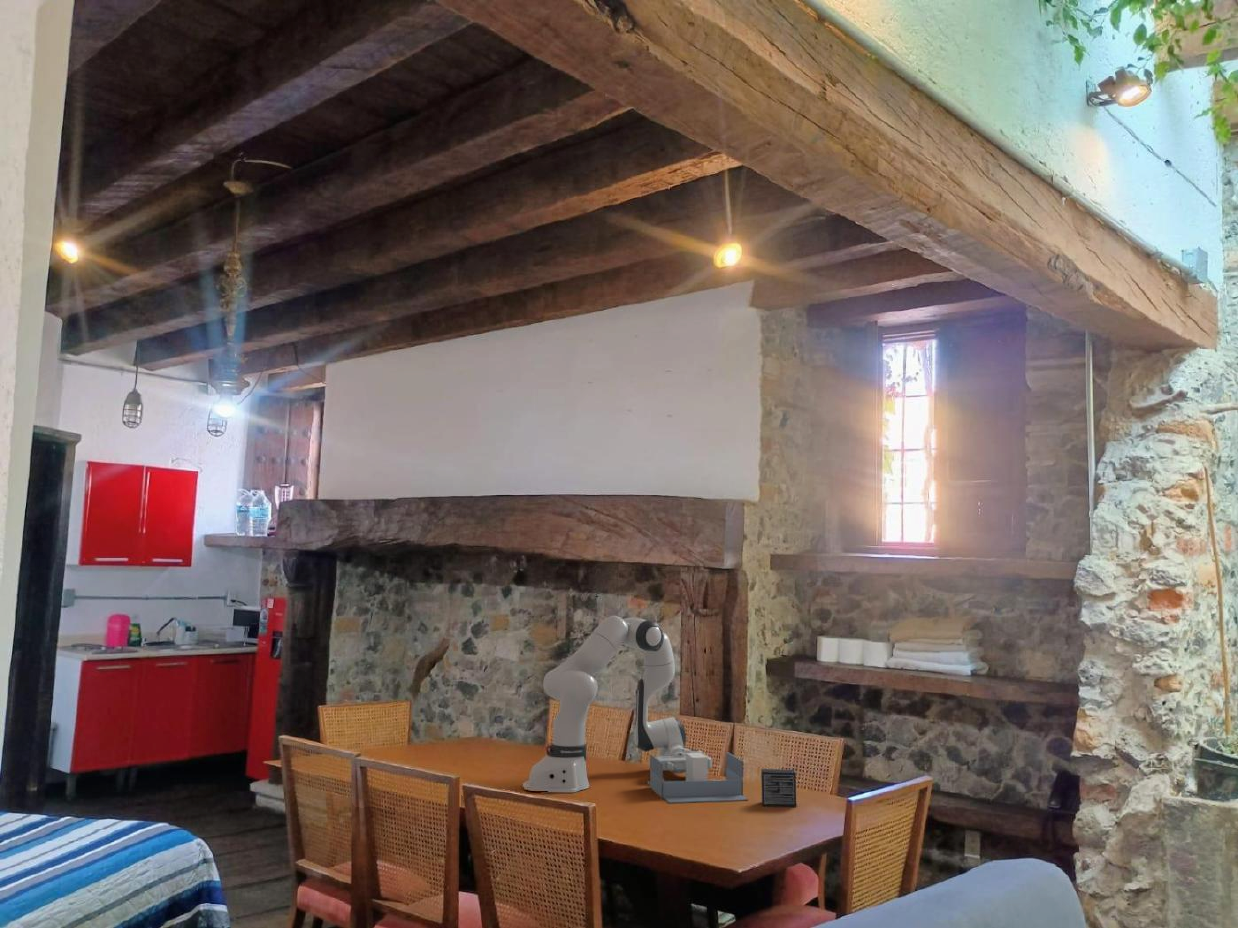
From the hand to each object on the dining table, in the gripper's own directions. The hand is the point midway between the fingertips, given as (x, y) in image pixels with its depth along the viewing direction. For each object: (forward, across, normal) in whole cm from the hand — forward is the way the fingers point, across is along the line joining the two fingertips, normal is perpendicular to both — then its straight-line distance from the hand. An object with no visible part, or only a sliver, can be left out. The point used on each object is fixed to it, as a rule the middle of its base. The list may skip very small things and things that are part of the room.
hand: (687, 767), depth 331 cm
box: (+11, 0, +6) cm, 12 cm away
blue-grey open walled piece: (+10, 0, +6) cm, 12 cm away
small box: (+32, +21, +6) cm, 39 cm away
